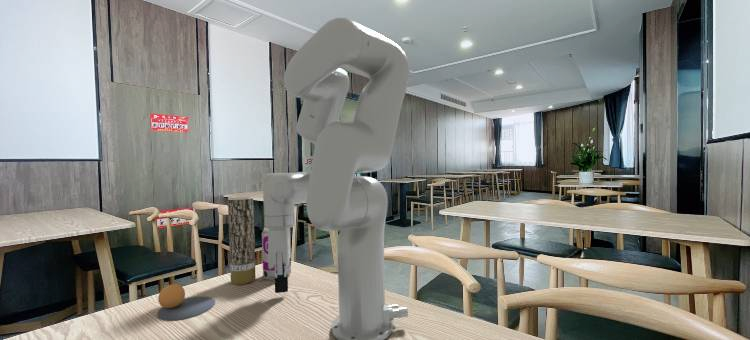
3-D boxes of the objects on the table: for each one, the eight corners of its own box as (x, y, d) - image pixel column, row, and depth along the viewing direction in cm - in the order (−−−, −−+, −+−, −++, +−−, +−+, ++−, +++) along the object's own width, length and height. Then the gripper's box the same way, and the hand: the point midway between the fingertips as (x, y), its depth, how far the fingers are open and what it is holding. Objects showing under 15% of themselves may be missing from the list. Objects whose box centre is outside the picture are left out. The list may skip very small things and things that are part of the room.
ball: (160, 293, 79) (178, 305, 80) (148, 303, 74) (168, 317, 75) (175, 276, 79) (193, 289, 80) (164, 285, 74) (184, 299, 75)
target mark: (220, 294, 84) (220, 294, 84) (207, 316, 72) (207, 315, 72) (169, 300, 81) (169, 299, 81) (147, 324, 69) (147, 323, 69)
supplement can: (283, 281, 92) (281, 230, 92) (257, 280, 94) (256, 230, 93) (295, 271, 100) (294, 224, 100) (271, 270, 102) (270, 224, 101)
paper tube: (239, 276, 97) (236, 195, 96) (259, 277, 96) (257, 195, 95) (225, 285, 90) (222, 198, 89) (247, 286, 89) (245, 198, 88)
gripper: (266, 216, 88) (268, 282, 88) (260, 227, 73) (263, 306, 74) (294, 215, 89) (296, 279, 90) (294, 225, 75) (296, 301, 75)
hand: (281, 291), depth 82 cm, fingers closed
